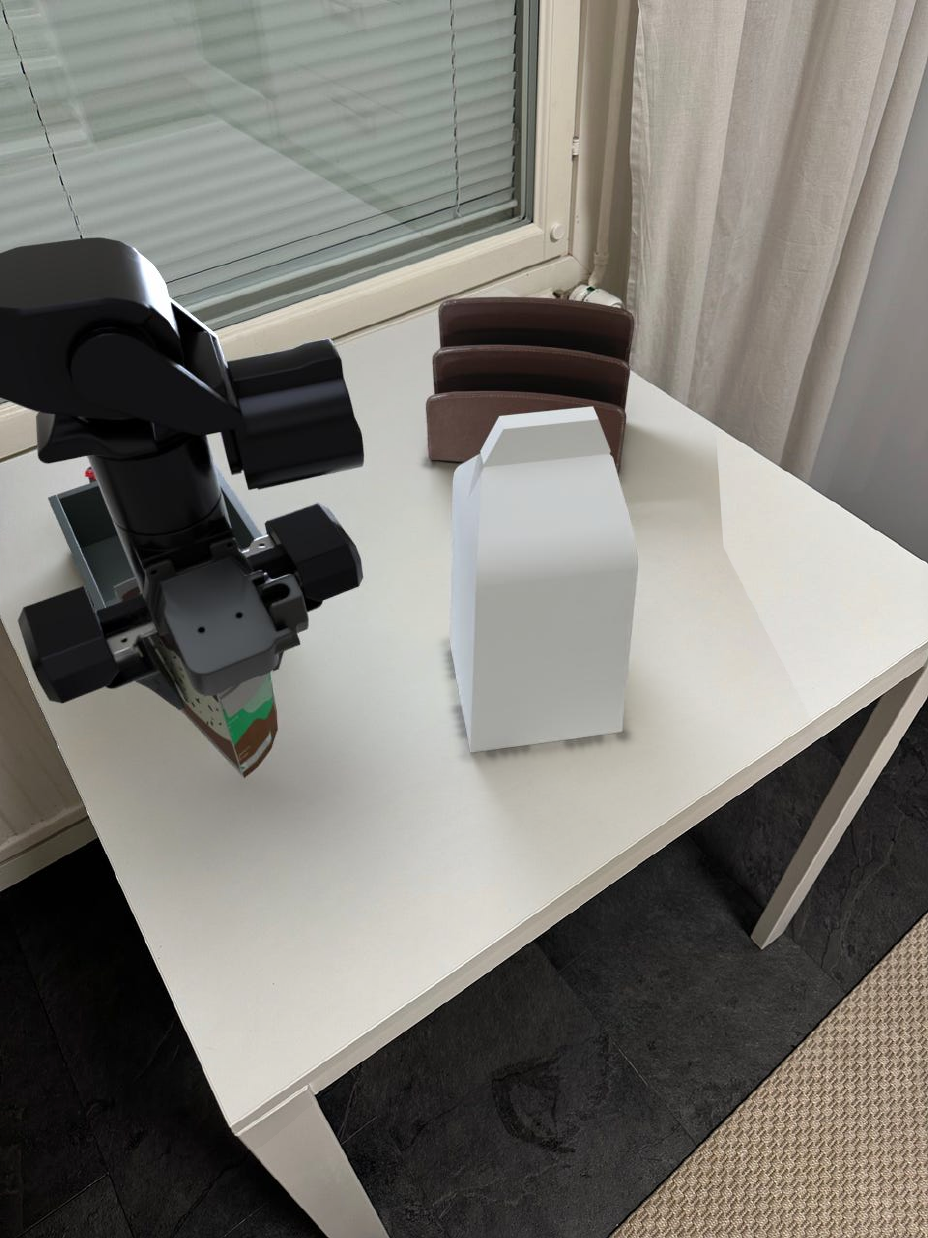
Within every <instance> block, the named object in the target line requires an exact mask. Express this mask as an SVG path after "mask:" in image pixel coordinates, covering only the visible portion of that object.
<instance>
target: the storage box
mask: <svg viewBox="0 0 928 1238" xmlns="http://www.w3.org/2000/svg"><path fill="white" fill-rule="evenodd" d="M214 465H215V468H216V472H217V476H218V479H219V483H220V487H221V491H222V494H223V498H224V502H225V505H226V509H227V513H228V517H229V520H230V524H231V528H232V531H233V534H234V538H235V540H236V542H237V546H238V548H239V549H240V550H241V551H242V552H244V551H246V550H248V549H250V545H251V543H252V542H253V541H254V540H255V539H257V538H260V537H263V536H264V535H263V534H262V533H261V531H260V530H259V528H258V526H257V525H256V523H255V522H254V520H253V519H252V517H251V516H250V514H249V513H248V511H247V510H246V508H245V507H244V505H243V504H242V502H241V501H240V499H239V497H238V496H237V494H236V493H235V492H234V490H233V489H232V487H231V485H230V484H229V482H228V481H227V479H226V478H225V476H224V475H223V473H222V471H221V470H220V469H219V467H218V466H217V464H216V463H215V462H214ZM47 500H48V502H49V504H50V507H51V509H52V511H53V514H54V516H55V518H56V520H57V523H58V525H59V527H60V530H61V532H62V535H63V537H64V540H65V541H66V545H67V547H68V549H69V551H70V554H71V555H72V558H73V560H74V562H75V565H76V568H77V569H78V572H79V574H80V577H81V579H82V582H83V583H84V586H85V587H86V589H87V591H88V593H89V595H90V597H91V599H92V602H93V604H94V609H95V611H98V610H101V609H103V608H106V607H109V606H111V605H114V604H117V603H119V602H118V599H117V597H116V594H115V592H116V591H115V589H114V586H116V585H118V584H120V583H122V582H124V581H126V580H129V579H132V578H134V577H135V576H134V574H133V571H132V569H131V566H130V564H129V561H128V558H127V556H126V553H125V551H124V548H123V546H122V543H121V541H120V538H119V536H118V533H117V531H116V528H115V526H114V523H113V521H112V518H111V515H110V513H109V510H108V508H107V505H106V503H105V500H104V498H103V495H102V493H101V490H100V488H99V485H98V483H97V481H95V482H92V483H90V482H88V483H87V484H84V485H81V486H78V487H75V488H72V489H69V490H66V491H63V492H60V493H57V494H54V495H51V496H48V497H47Z"/></svg>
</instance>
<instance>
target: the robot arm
mask: <svg viewBox="0 0 928 1238" xmlns="http://www.w3.org/2000/svg"><path fill="white" fill-rule="evenodd" d="M344 375H345V374H344V368H343V359H342V358H341V355H340V354H339V352H338V349H337V348H336V345H335V343H334V341H333V340H332V339H330V338H323V339H318V340H317V339H316V340H312V341H308V342H305V343H302V344H300V345H297V346H295V347H293V348H289V349H284V350H279V351H273V352H268V353H262V354H257V355H252V356H247V357H241V358H237V359H231V360H226V358H225V355H224V352H223V348H222V345H221V342H220V338H219V337H218V335H217V334H216V333H215V332H214V331H213V330H211V329H210V328H209V327H208V326H206V325H205V324H204V323H202V321H200V320H199V319H198V318H196V317H195V316H194V315H193V314H191V313H190V312H189V311H188V310H186V309H185V307H182V306H181V305H180V304H179V303H177V302H176V301H175V300H174V299H172V298H171V297H170V295H169V291H168V288H167V284H166V282H165V280H164V279H163V278H162V275H161V274H160V272H159V271H158V270H157V267H155V266H154V264H153V263H152V262H150V261H149V260H148V259H147V258H146V257H144V256H143V254H142V253H140V252H138V250H137V249H136V248H135V247H134V246H133V245H130V244H128V243H126V242H122V241H121V240H116V239H112V238H108V237H107V238H106V237H101V236H99V237H97V236H95V237H82V238H75V239H68V240H67V239H66V240H60V241H52V242H44V243H37V244H28V245H22V246H17V247H13V248H10V249H7V250H4V251H2V252H0V399H1V400H4V401H7V402H9V403H11V404H14V405H17V406H19V407H23V408H25V409H27V410H29V411H32V412H36V413H37V414H36V416H35V429H36V431H35V432H36V453H37V459H38V460H39V461H40V462H41V463H43V464H46V465H49V464H55V463H60V462H64V461H68V460H75V459H78V458H79V459H80V458H84V457H87V460H88V462H89V466H90V467H91V468H92V470H93V473H94V475H95V478H96V480H97V483H98V485H99V488H100V490H101V493H102V495H103V498H104V500H105V503H106V505H107V508H108V510H109V513H110V515H111V518H112V521H113V523H114V526H115V528H116V531H117V533H118V536H119V538H120V541H121V543H122V546H123V548H124V551H125V553H126V556H127V558H128V561H129V564H130V566H131V569H132V571H133V574H134V576H135V579H136V581H137V584H138V586H139V589H140V591H141V594H142V595H139V596H136V597H133V598H131V599H128V600H125V601H122V602H120V603H117V604H114V605H111V606H109V607H106V608H103V609H101V610H98V611H96V609H95V607H94V604H93V602H92V599H91V597H90V595H89V593H88V590H87V588H86V586H85V585H82V586H80V587H77V588H74V589H70V590H68V591H65V592H62V593H60V594H56V595H53V596H51V597H49V598H46V599H42V600H40V601H37V602H34V603H32V604H31V603H30V604H29V605H25V606H23V608H22V609H21V611H20V613H19V616H18V618H17V623H18V626H19V630H20V632H21V636H22V639H23V641H24V646H25V649H26V651H27V655H28V659H29V661H30V665H31V668H32V671H33V673H34V674H35V675H34V676H35V677H36V679H37V682H38V683H39V685H40V687H41V689H42V691H43V692H44V694H45V696H46V698H47V699H48V701H50V702H54V703H57V704H65V703H68V702H70V701H73V700H75V699H77V698H81V697H83V696H85V695H87V694H91V693H92V692H96V691H98V690H100V689H103V688H106V689H109V690H116V689H119V688H121V687H124V686H126V685H128V684H131V683H133V682H135V683H137V684H140V685H141V686H144V687H146V688H147V689H149V690H150V691H152V692H153V693H155V694H156V695H157V696H159V697H160V698H162V699H163V700H164V701H166V702H167V703H169V705H171V706H173V708H175V709H176V710H178V711H181V710H182V709H184V708H185V706H184V703H183V701H182V698H181V696H180V694H179V691H178V689H177V687H176V685H175V682H174V680H173V678H172V676H171V675H170V673H169V671H168V670H167V668H166V666H165V665H164V663H163V661H162V660H161V658H160V656H159V655H158V653H157V651H156V650H155V648H154V646H153V645H152V643H151V641H150V640H149V638H148V636H149V635H151V634H154V633H156V632H158V634H159V636H162V635H165V634H167V633H170V636H171V638H172V641H173V643H174V646H175V648H176V650H177V653H178V655H179V657H180V659H181V662H182V664H183V666H184V668H185V671H186V673H187V675H188V678H189V680H190V682H191V685H192V687H193V688H194V689H195V690H196V691H197V692H198V693H199V694H201V695H205V696H213V695H217V694H219V693H222V692H224V691H225V690H227V689H228V688H230V687H233V686H235V685H238V684H240V683H242V682H245V681H247V680H250V679H252V678H255V677H258V676H263V675H265V674H268V673H269V672H270V673H271V672H272V671H273V672H276V671H278V670H280V666H281V664H282V659H283V657H284V653H285V652H286V651H288V650H291V649H293V648H295V647H298V646H301V641H300V637H299V635H298V634H300V633H302V632H304V631H307V630H308V629H309V626H310V625H309V622H310V619H309V614H308V613H310V612H313V611H315V610H318V609H319V608H320V607H321V606H322V605H323V602H324V601H326V600H329V599H332V598H334V597H336V596H339V595H341V594H344V593H346V592H349V591H352V590H354V589H356V588H357V589H358V588H359V587H360V585H361V583H362V581H363V579H364V573H363V565H362V558H361V555H360V553H359V550H358V548H357V545H356V544H355V542H354V541H353V540H352V538H351V537H350V536H349V534H348V533H347V531H346V530H345V529H344V527H343V526H342V525H341V523H340V521H339V520H338V519H337V517H336V516H335V514H334V513H333V512H332V510H331V509H330V508H329V507H328V506H325V505H323V504H321V503H320V502H316V503H313V504H311V505H308V506H305V507H302V508H299V509H297V510H294V511H291V512H288V513H286V514H282V515H280V516H277V517H274V518H271V519H268V520H266V521H265V522H264V527H265V531H266V534H265V535H262V536H263V537H260V538H257V539H255V540H254V541H253V542H252V543H251V545H250V549H248V550H246V551H244V552H242V551H241V550H240V549H239V548H238V546H237V542H236V540H235V538H234V534H233V531H232V528H231V524H230V520H229V517H228V513H227V509H226V505H225V502H224V498H223V494H222V491H221V487H220V483H219V479H218V476H217V472H216V468H215V465H214V463H215V461H214V457H213V454H212V450H211V446H210V443H209V439H208V436H209V435H215V434H220V437H221V441H222V445H223V448H224V453H225V456H226V459H227V464H228V467H229V471H230V474H231V476H234V475H239V474H240V475H241V474H243V475H244V479H245V483H246V487H247V491H251V490H255V489H257V490H258V491H259V490H263V489H268V488H274V487H278V486H282V485H286V484H292V483H296V482H300V481H304V480H309V479H314V478H318V477H323V476H328V475H332V474H336V473H341V472H345V471H349V470H354V469H360V468H362V467H363V466H364V463H365V449H364V441H363V433H362V430H361V427H360V426H359V423H358V421H357V418H356V416H355V413H354V408H353V404H352V400H351V397H350V392H349V389H348V386H347V383H346V380H345V376H344ZM242 472H243V473H242Z"/></svg>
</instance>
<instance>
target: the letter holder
mask: <svg viewBox="0 0 928 1238" xmlns="http://www.w3.org/2000/svg"><path fill="white" fill-rule="evenodd" d="M437 314H438V315H437V316H438V317H437V318H438V332H439V333H438V334H439V335H438V337H439V349H437V350H435V352H434V353H433V355H432V359H431V360H432V361H431V362H432V363H431V364H432V378H433V394H432V395H429V396H428V398H427V400H426V401H425V415H426V433H427V438H426V439H427V453H428V454H427V455H428V459H429V460H432V461H434V460H435V461H445V462H457V463H465V462H466V461H468V460H470V459H471V458H473V457H475V456H477V455H479V454H481V453H480V451H481V449H482V447H483V445H484V443H485V442H486V440H487V438H488V436H489V434H490V432H491V431H492V429H493V427H494V425H495V423H496V421H497V419H498V418H499V416H505V415H515V414H524V413H534V412H544V411H553V410H563V409H573V408H583V407H592V406H593V408H594V410H595V412H596V415H597V417H598V419H599V422H600V424H601V427H602V430H603V432H604V435H605V437H606V440H607V443H608V445H609V448H610V450H611V452H610V455H611V456H612V457H613V460H614V463H615V467H616V471H617V474H618V475H619V474H620V470H621V461H622V453H623V446H624V440H625V433H626V431H625V430H626V424H627V412H626V407H627V398H628V392H629V384H630V377H631V366H630V357H631V350H632V345H633V337H634V331H635V318H634V315H633V314H632V312H630V311H629V310H627V309H626V308H625V309H624V308H623V307H617V306H612V305H608V304H607V305H606V304H602V303H596V302H591V301H584V300H578V299H577V300H575V299H566V298H557V297H556V298H555V297H541V296H539V297H538V296H537V297H536V296H474V297H459V298H450V299H446V300H443V301H442V302H441V303H440V304H439V305H438V310H437Z"/></svg>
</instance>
